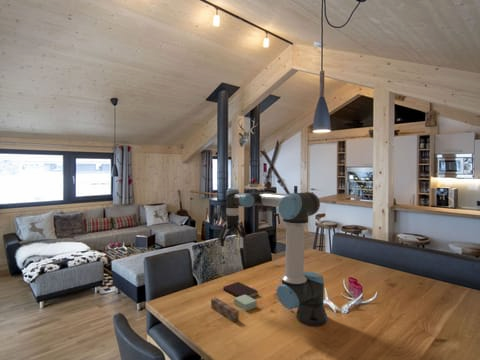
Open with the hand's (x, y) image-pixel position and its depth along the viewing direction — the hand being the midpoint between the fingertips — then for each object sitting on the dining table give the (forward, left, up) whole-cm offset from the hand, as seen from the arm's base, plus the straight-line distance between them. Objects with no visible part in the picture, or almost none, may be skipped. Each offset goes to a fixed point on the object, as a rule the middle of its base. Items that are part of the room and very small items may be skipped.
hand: (232, 249), depth 178 cm
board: (-16, +18, -27) cm, 37 cm away
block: (-16, +4, -28) cm, 32 cm away
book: (-1, -5, -28) cm, 29 cm away
